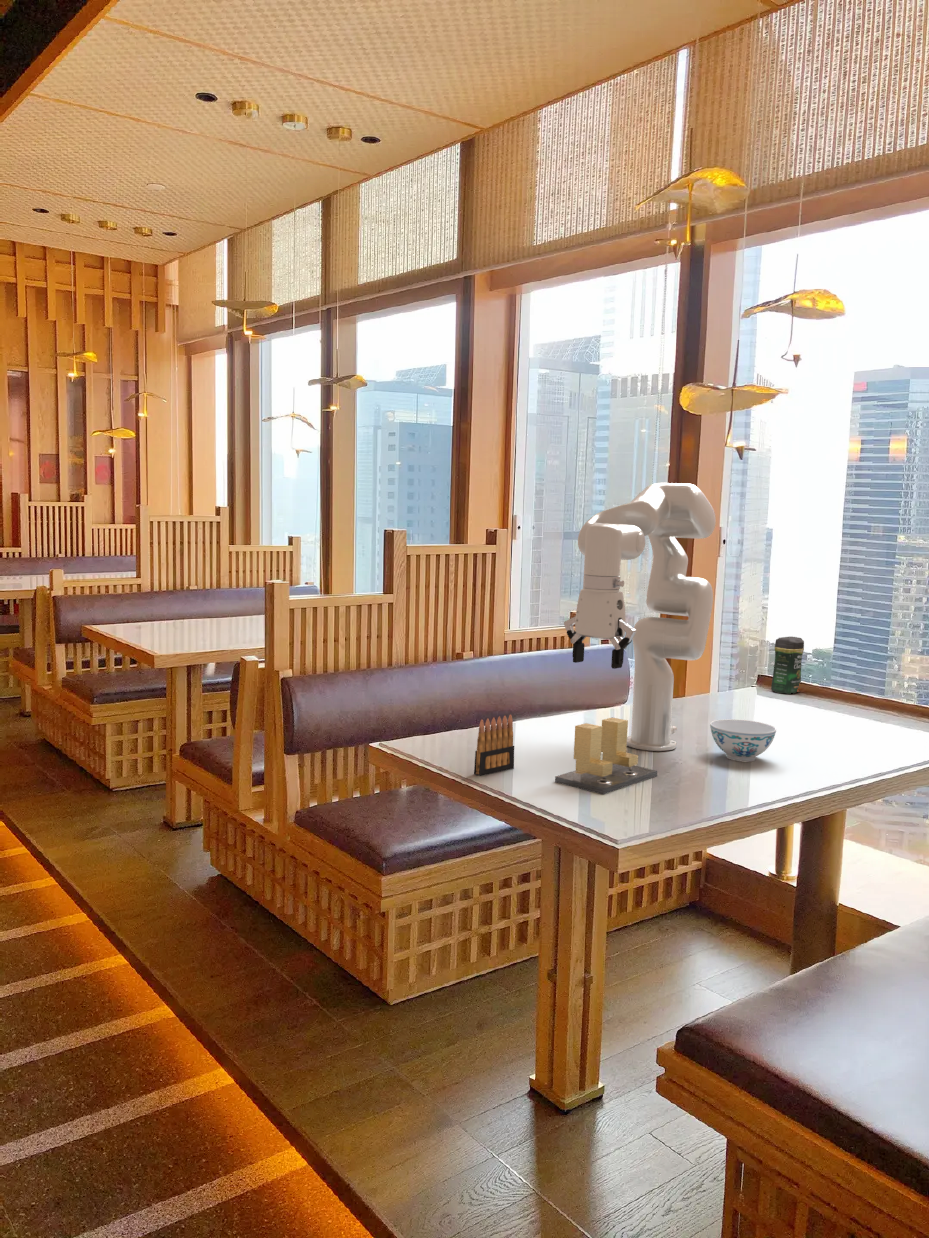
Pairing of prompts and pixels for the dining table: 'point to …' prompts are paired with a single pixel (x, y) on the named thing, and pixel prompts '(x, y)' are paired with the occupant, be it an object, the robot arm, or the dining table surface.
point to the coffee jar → (787, 664)
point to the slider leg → (616, 743)
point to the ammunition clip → (494, 747)
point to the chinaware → (742, 738)
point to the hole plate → (612, 777)
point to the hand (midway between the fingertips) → (597, 664)
